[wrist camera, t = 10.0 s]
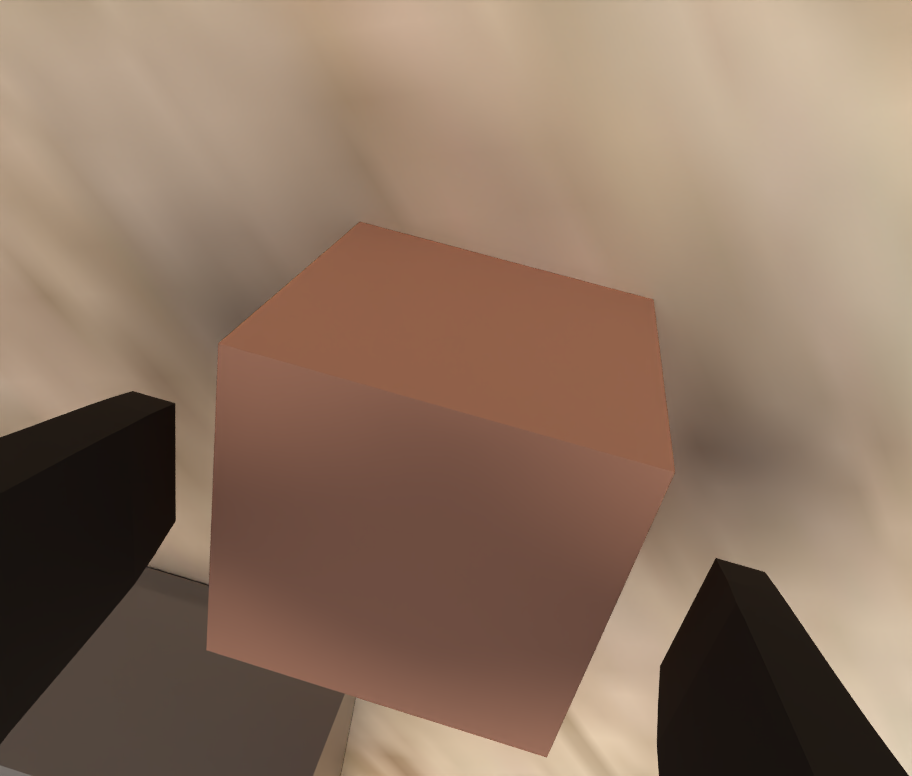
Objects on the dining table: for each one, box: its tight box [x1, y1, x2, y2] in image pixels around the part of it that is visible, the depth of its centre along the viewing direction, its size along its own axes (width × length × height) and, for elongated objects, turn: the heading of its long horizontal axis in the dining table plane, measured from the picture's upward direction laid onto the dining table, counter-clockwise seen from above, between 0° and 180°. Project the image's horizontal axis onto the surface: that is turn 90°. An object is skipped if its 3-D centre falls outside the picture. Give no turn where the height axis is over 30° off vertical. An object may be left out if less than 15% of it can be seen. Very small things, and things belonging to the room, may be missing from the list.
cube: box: [206, 222, 675, 757], centre depth 11 cm, size 5×5×5 cm
